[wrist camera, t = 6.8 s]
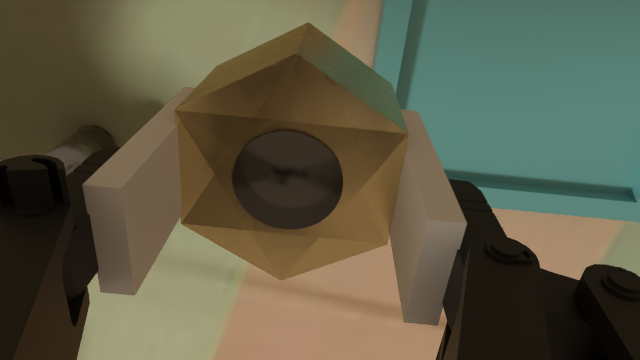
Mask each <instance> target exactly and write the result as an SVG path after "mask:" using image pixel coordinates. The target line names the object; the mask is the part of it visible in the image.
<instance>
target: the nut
mask: <svg viewBox="0 0 640 360" xmlns="http://www.w3.org/2000/svg"><path fill="white" fill-rule="evenodd" d="M174 115H175V124H177V128H178V145H179V163H180V180H181V198H182V215H181V224H182V225H184V226H186V227H188V228H189V229H191V230H193V231H195V232H196V233H198V234H200V235H202V236H204V237H205V238H207V239H209V240H211V241H212V242H214V243H216V244H218V245H219V246H221V247H223V248H225V249H226V250H228V251H230V252H232V253H234V254H235V255H237V256H239V257H241V258H242V259H244V260H246V261H248V262H249V263H251V264H253V265H255V266H256V267H258V268H260V269H262V270H263V271H265V272H267V273H269V274H271V275H272V276H274V277H276V278H278V279H279V280H284V279H287V278H290V277H293V276H296V275H299V274H302V273H305V272H308V271H311V270H313V269H316V268H319V267H322V266H325V265H328V264H331V263H334V262H337V261H340V260H343V259H346V258H349V257H352V256H355V255H358V254H360V253H363V252H366V251H369V250H372V249H375V248H378V247H381V246H384V245H387V243H388V238H389V233H390V228H391V223H392V218H393V213H394V207H395V202H396V197H397V192H398V187H399V182H400V177H401V172H402V167H403V162H404V157H405V152H406V147H407V141H408V136H409V132H408V129H407V126H406V124H405V121H404V118H403V115H402V112H401V109H400V106H399V103H398V100H397V97H396V94H395V92H394V89H393V86H392V84H391V83H390V82H389V81H387V80H386V79H384V78H383V77H382V76H380V75H379V74H378V73H376V72H375V71H374V70H372V69H371V68H370V67H368V66H367V65H366V64H364V63H363V62H362V61H360V60H359V59H357V58H356V57H355V56H353V55H352V54H351V53H349V52H348V51H347V50H345V49H344V48H343V47H341V46H340V45H339V44H337V43H336V42H335V41H333V40H332V39H330V38H329V37H328V36H326V35H325V34H324V33H322V32H321V31H320V30H318V29H317V28H316V27H314V26H313V25H312V24H310V23H309V22H308V23H306V24H304V25H302V26H300V27H297V28H295V29H293V30H291V31H289V32H287V33H285V34H283V35H281V36H279V37H277V38H274V39H272V40H270V41H268V42H266V43H264V44H262V45H260V46H258V47H256V48H254V49H251V50H249V51H247V52H245V53H243V54H241V55H239V56H237V57H235V58H233V59H231V60H228V61H226V62H224V63H222V64H220V65H218V66H216V67H215V68H214V69H213V70H212V71H211V73H210V74H209V75H208V76H207V77H206V78H205V79H204V80H203V81H202V82H201V83H200V84H199V85H198V86H197V87H196V88H195V89H194V90H193V91H192V92H191V93H190V94H189V95H188V96H187V97H186V98H185V99H184V100H183V101H182V102H181V103H180V104H179V105H178V107H177V108H176V109H175V110H174Z"/></svg>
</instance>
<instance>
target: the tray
mask: <svg viewBox="0 0 640 360" xmlns="http://www.w3.org/2000/svg"><path fill="white" fill-rule="evenodd" d="M372 70H374V71H375V72H376V73H378V74H379V75H380V76H382V77H383V78H384V79H386V80H387V81H389V82H390V83H391V84H392V86H393V89H394V92H395V94H396V97H397V100H398V103H399V106H400V109H403V110H413V111H418V112H419V114H420V117H421V119H422V121H423V124H424V126H425V128H426V130H427V133H428V135H429V137H430V140H431V142H432V144H433V146H434V149H435V151H436V153H437V156H438V158H439V160H440V162H441V165H442V167H443V169H444V172H445V174H446V176H447V178H448V179H453V180H463V181H469V182H471V183H472V184H473V185H474V186H476V187H477V188H478V189H479V190H481V191H482V193H483V194H484V196H485V198H486V200H487V202H488V203H487V204H489V205H490V207H491V208H501V209H511V210H521V211H532V212H542V213H552V214H562V215H573V216H583V217H593V218H603V219H613V220H624V221H634V222H640V0H382V7H381V13H380V20H379V26H378V33H377V40H376V46H375V53H374V60H373V66H372Z"/></svg>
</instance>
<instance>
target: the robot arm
mask: <svg viewBox="0 0 640 360" xmlns="http://www.w3.org/2000/svg"><path fill="white" fill-rule="evenodd" d="M194 89H195V88H187V87H184V88H183V89H182V90H181V91H180V92H179V93H178V94H177V95H176V96H175V97H174V98H173V99H171V100H170V101H169V102H168V103H167V104H166V105H165V106H164V107H163V108H162V109H161V110H160V111H159V112H158V113H157V114H156V115H155V116H154V117H153V118H152V119H151V120H149V121H148V122H147V123H146V124H145V125H144V126H143V127H142V128H141V129H140V130H139V131H138V132H137V133H136V134H135V135H134V136H133V137H132V138H131V139H130V140H128V141H127V142H126V143H125V144H124V145H123V146H122V147H113V146H109V147H106V148H104V149H102V150H99V151H97V152H95V153H92V154H91V155H90V156H89V157H88V158H87V159H85V160H84V161H83V162H82V165H78V166H77V167H76V168H75V169H74V170H73V172H70V173H69V174H68V175H67V176H66V171H65V166H64V162H62V161H61V160H60V159H58V158H55V157H51V156H45V155H29V156H19V157H15V158H11V159H7V160H4V161H1V162H0V360H77V355H78V351H79V347H80V342H81V338H82V334H83V329H84V325H85V321H86V316H87V312H88V308H89V304H90V302H89V293H88V288H87V285H88V284H89V283H90V281H91V280H92V278H93V277H94V276H95V274H96V273H98V279H99V285H100V291H101V292H105V293H115V294H125V295H135V294H136V293H137V291H138V289H139V287H140V286H141V284H142V282H143V280H144V279H145V277H146V275H147V273H148V272H149V270H150V268H151V267H152V265H153V263H154V261H155V260H156V258H157V256H158V254H159V253H160V251H161V249H162V247H163V246H164V244H165V242H166V241H167V239H168V237H169V235H170V234H171V232H172V230H173V228H174V227H175V225H176V223H177V221H178V220H179V218H180V216H181V215H182V198H181V180H180V163H179V145H178V128H177V124H175V115H174V110H175V109H176V108H177V107H178V105H179V104H180V103H181V102H182V101H183V100H184V99H185V98H186V97H187V96H188V95H189V94H190V93H191V92H192V91H193V90H194ZM401 112H402V115H403V118H404V121H405V124H406V126H407V129H408V132H409V136H408V141H407V147H406V152H405V157H404V162H403V167H402V172H401V177H400V182H399V187H398V192H397V197H396V202H395V207H394V213H393V218H392V223H391V228H390V239H391V246H392V252H393V258H394V264H395V270H396V277H397V283H398V289H399V295H400V302H401V308H402V314H403V320H404V322H408V323H418V324H428V325H438V322H439V319H440V315H441V312H442V308H443V307H444V311H445V314H446V318H447V324H446V327H445V331H444V334H443V337H442V341H441V344H440V347H439V351H438V354H437V357H436V360H640V277H639V276H637V275H636V274H635V273H633V272H631V271H626V269H623V268H620V267H614V266H610V265H600V264H594V265H591V266H589V267H586V269H585V271H584V272H583V274H582V277H581V279H580V280H576V279H573V278H570V277H566V276H563V275H559V274H556V273H552V272H550V271H547V270H544V269H541V268H540V265H539V261H538V259H537V257H536V255H535V254H534V253H533V252H532V251H531V250H530V249H529V248H528V247H527V246H525V245H523V244H522V243H520V242H518V241H516V240H513V239H511V238H508V237H507V236H506V234H505V233H504V231H503V229H502V227H501V225H500V224H499V222H498V220H497V218H496V216H495V214H494V213H492V209H491V207H490V205H489V204H487V203H488V202H487V200H486V198H485V196H484V194H483V193H482V191H481V190H479V189H478V188H477V187H476V186H474V185H473V184H472V183H471V182H469V181H463V180H453V179H448V178H447V176H446V174H445V172H444V169H443V167H442V165H441V162H440V160H439V158H438V156H437V153H436V151H435V149H434V146H433V144H432V142H431V140H430V137H429V135H428V133H427V130H426V128H425V126H424V124H423V121H422V119H421V117H420V114H419V112H418V111H413V110H403V109H401Z"/></svg>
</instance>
